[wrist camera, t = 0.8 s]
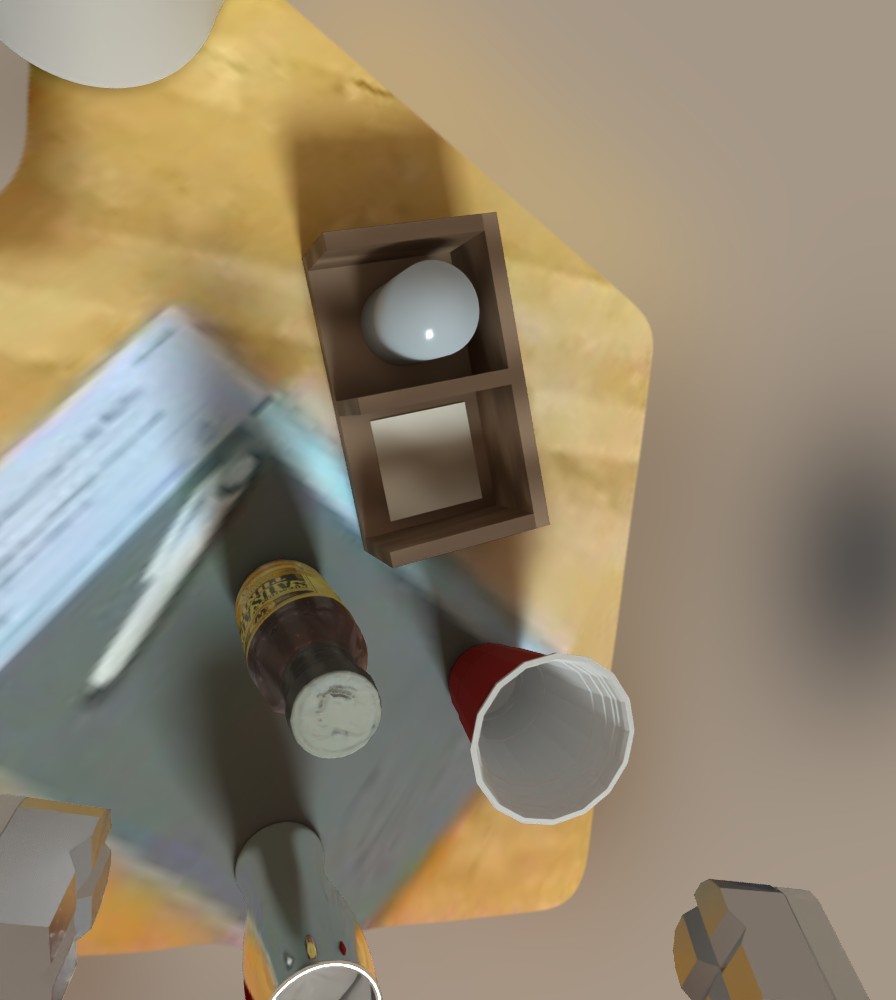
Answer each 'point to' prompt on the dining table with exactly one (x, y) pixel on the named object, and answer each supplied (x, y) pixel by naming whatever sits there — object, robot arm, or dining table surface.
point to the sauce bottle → (308, 658)
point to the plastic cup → (541, 729)
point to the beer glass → (298, 923)
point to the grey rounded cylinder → (420, 314)
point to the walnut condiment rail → (428, 397)
